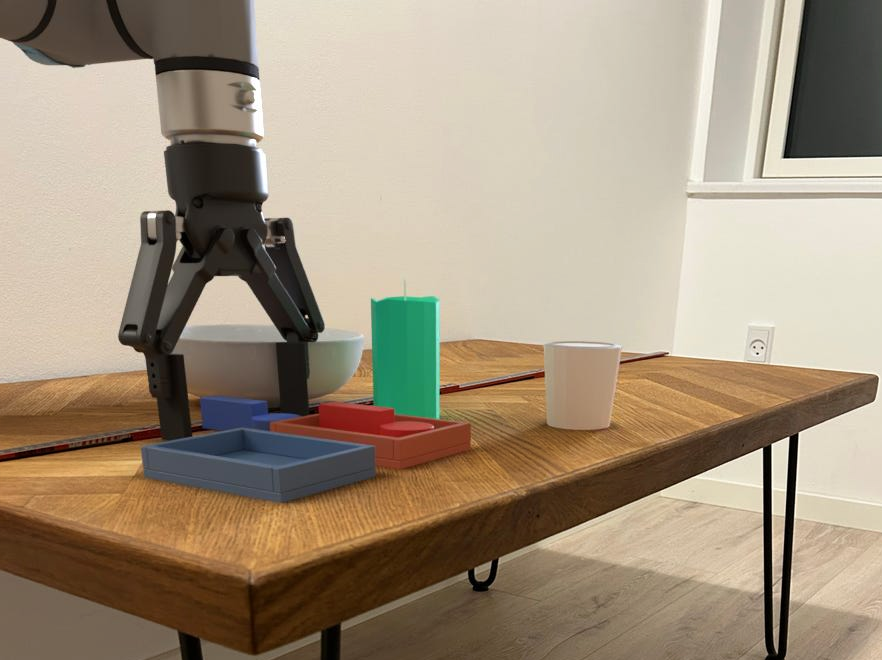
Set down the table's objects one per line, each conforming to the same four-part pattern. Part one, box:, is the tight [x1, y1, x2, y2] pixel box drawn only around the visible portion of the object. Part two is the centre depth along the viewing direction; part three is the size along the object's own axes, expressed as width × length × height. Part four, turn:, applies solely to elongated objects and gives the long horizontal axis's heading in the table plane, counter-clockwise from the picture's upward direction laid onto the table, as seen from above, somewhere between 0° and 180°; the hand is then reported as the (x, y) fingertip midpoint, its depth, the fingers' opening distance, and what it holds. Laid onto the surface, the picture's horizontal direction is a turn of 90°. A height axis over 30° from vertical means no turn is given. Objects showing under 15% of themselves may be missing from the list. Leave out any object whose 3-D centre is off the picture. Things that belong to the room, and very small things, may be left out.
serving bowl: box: [171, 323, 365, 409], centre depth 94 cm, size 21×21×7 cm
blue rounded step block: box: [199, 395, 301, 432], centre depth 78 cm, size 10×4×3 cm, turn 58°
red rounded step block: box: [318, 400, 434, 438], centre depth 72 cm, size 10×4×3 cm, turn 58°
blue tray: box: [140, 428, 377, 504], centre depth 63 cm, size 12×9×2 cm
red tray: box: [270, 413, 472, 470], centre depth 72 cm, size 12×9×2 cm
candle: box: [370, 279, 440, 419], centre depth 84 cm, size 6×6×12 cm
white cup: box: [543, 340, 623, 431], centre depth 84 cm, size 7×7×7 cm
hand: (240, 429), depth 79 cm, fingers open, 13 cm apart
